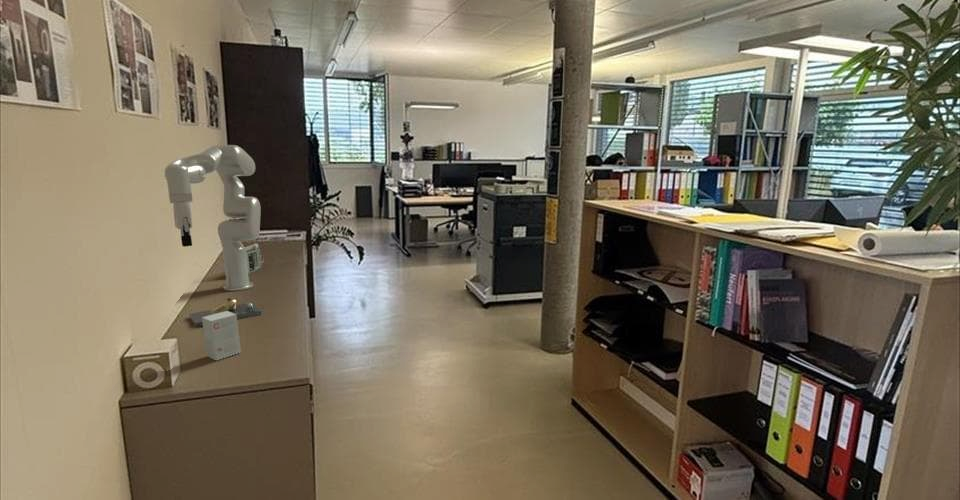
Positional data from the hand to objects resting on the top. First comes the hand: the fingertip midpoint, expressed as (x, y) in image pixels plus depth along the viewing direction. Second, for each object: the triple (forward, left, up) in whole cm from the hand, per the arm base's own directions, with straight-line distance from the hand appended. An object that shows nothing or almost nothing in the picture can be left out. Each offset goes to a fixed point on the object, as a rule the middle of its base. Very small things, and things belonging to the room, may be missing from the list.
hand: (187, 245), depth 204 cm
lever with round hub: (+14, +8, -25) cm, 30 cm away
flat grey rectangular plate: (+12, +8, -27) cm, 31 cm away
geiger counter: (-60, +34, -27) cm, 74 cm away
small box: (+54, 0, -27) cm, 61 cm away
